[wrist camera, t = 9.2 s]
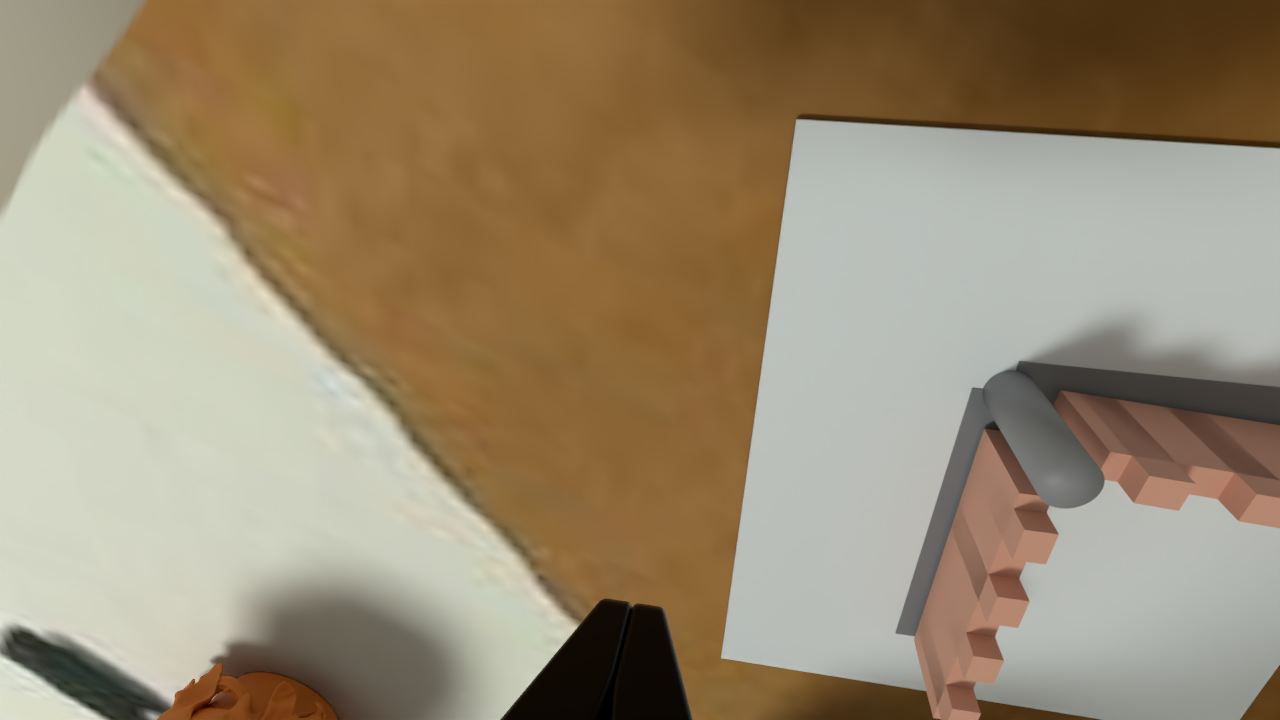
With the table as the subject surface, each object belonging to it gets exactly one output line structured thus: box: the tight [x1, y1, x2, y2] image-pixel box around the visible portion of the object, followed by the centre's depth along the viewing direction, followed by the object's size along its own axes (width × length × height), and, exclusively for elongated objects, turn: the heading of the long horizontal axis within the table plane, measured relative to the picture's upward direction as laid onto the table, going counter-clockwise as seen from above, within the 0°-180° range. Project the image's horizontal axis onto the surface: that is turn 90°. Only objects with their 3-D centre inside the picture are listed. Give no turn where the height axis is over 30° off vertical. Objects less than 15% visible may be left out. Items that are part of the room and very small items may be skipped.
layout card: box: [721, 119, 1280, 720], centre depth 20 cm, size 20×18×1 cm
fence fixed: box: [914, 370, 1105, 720], centre depth 19 cm, size 11×1×4 cm, turn 178°
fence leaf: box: [1053, 390, 1280, 528], centre depth 17 cm, size 9×1×4 cm, turn 84°
